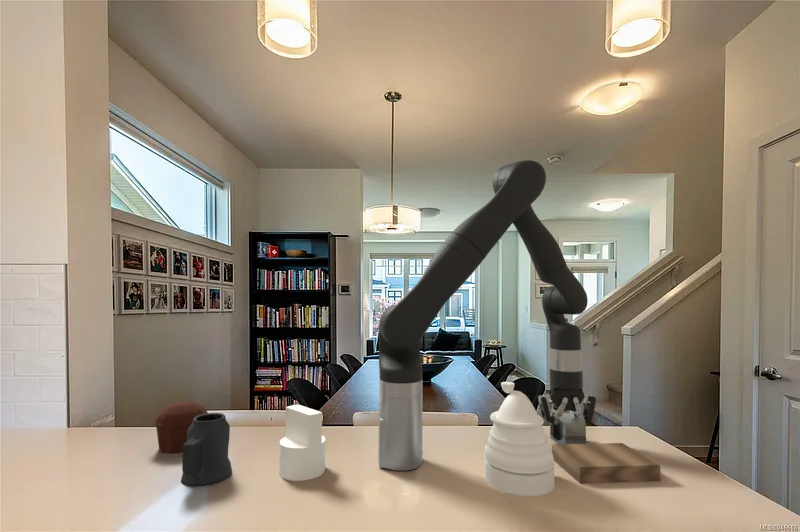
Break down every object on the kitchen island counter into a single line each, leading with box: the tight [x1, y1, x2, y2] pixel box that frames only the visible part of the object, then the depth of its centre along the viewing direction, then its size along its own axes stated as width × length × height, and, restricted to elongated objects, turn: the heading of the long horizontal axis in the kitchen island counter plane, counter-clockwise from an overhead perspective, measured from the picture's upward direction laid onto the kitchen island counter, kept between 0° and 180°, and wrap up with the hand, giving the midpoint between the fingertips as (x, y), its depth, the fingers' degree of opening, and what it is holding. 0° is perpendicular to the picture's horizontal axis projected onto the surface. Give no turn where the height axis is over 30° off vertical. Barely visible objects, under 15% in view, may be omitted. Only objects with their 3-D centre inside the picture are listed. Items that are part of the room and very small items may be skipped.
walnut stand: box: [551, 442, 662, 484], centre depth 84 cm, size 16×12×3 cm
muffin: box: [153, 400, 208, 455], centre depth 96 cm, size 12×11×10 cm
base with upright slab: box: [278, 404, 326, 482], centre depth 83 cm, size 9×9×12 cm
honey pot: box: [483, 381, 555, 497], centre depth 80 cm, size 13×13×18 cm
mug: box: [180, 412, 233, 488], centre depth 79 cm, size 12×9×11 cm
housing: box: [549, 412, 587, 444], centre depth 99 cm, size 5×8×6 cm, turn 4°
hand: (567, 438), depth 99 cm, fingers closed on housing, 5 cm apart
